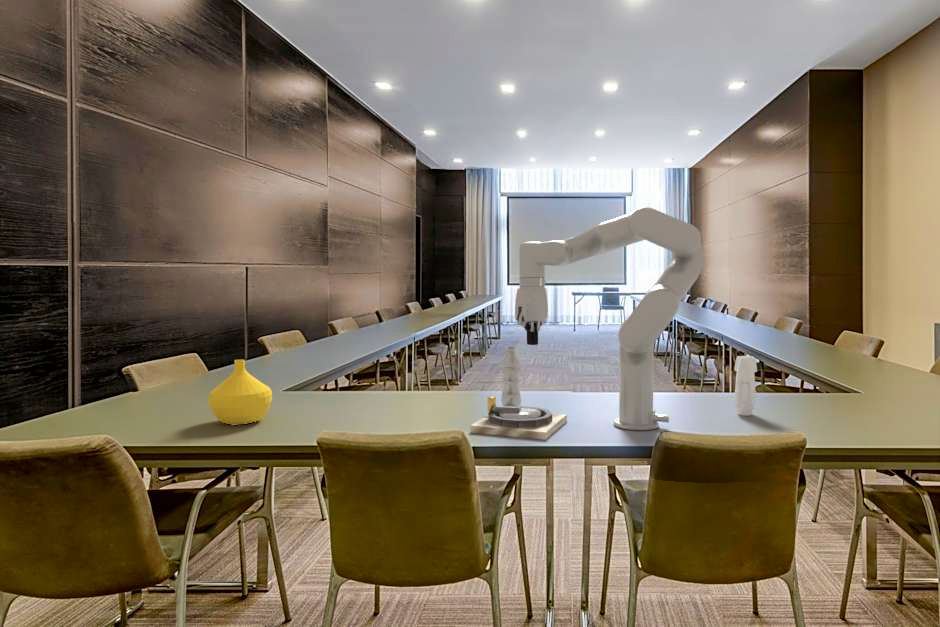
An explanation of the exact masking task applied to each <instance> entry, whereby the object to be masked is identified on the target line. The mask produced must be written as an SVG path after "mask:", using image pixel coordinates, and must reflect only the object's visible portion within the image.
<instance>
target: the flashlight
mask: <svg viewBox="0 0 940 627" xmlns="http://www.w3.org/2000/svg"><path fill="white" fill-rule="evenodd" d="M733 369H734V371H735V372H736V373H735V375H736V376H735V388H734V389H735V390H734V405H735V409H736V412H737V415H738V416H742V417H743V416H745V417H750V416H752V415H753V410H754V409H755V408H754V407H755V400H756V376H755V373H757V372H758V366H757V360H756V358H755V356H749V355H748V356H747V355H737V356H736V358H735V362H734V368H733Z"/></svg>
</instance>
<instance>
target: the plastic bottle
mask: <svg viewBox="0 0 940 627" xmlns="http://www.w3.org/2000/svg"><path fill="white" fill-rule="evenodd" d="M504 354H505V355H504V356H503V357H502V359H501V361H500V371H501V377H502V389H501V396H500V401H501V406H521V404H522V396H521V393H520V392H521V391H520V390H521V389H520V373H521V372H520V371H521V361H520V359H519V358H518V357H517V347H515V346H506V347H504Z"/></svg>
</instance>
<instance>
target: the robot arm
mask: <svg viewBox="0 0 940 627" xmlns="http://www.w3.org/2000/svg"><path fill="white" fill-rule="evenodd" d="M701 237H702V236H701V233H700V231H699V229H698V228H697V227H696V226H694V225H693V224H692V223H688V222H687V221H684V220H682V219H679V218H676V217H674V216H671V215H669V214H666V213H664V212H663V211H661V210H657V209H656V208H653V207H650V206H641V207H639V208H636V209H635V210H634V211H633V212H630V213H627V214H624V215H622V216H619V217H616V218H613V219H610V220H607V221H602V222H601V223H599V224H596V225H594V226H593V227H591V229H589V230H587V231H585V232H582V233H581V234H577V235H575V236H572V237H570V238H566V239H563V240H558V239H557V240H555V239H554V240H549V241H548V240H547V241H543V242H541V241H525V242H521V243H520V245H519V248H518V252H519V254H518V258H519V260H518V262H519V263H518V265H519V270H518V271H519V274H518V275H519V278H518V279H519V288H517V290H516V295H515V303H514V304H515V305H514V320H515V321H516V322H517V325H518V326H519V327H522V328H524V331H525V332H526V345H529V346H538V345H539V331H540V330H541V327H542V326H543V325H545V324H546V323H547V319H548V316H549V306H548V305H549V304H548V295H547V289H546V286H545V284H546V282H547V281H546V279H545V275H546V273H545V272H546V269H545V267H546V266H550V267H551V266H552V267H564V266H568V265H570V264H574V263H577V262H579V261H583V260H585V259H586V260H587V259H588V258H592V257H595V256H598V255H603V254H606V253H609V252H612V251H615V250H618V249H621V248H624V247H626V246H630V245H633V244H635V243H640V242H642V241H647V242H649V243H651V244H654V245H656V246H659V247H661V248H663V249H666V250H668V251H670V252H671V260H670V263H669V264H668V266H667V267H666V268H665V270H664V271H663V272H662V273H661V276H659V278H658V280H657V281H656V282H655V283H654V285H653V286H651V288H650V289H649V290H648V291H647V292H646V293H645V294H644V296H643V298H642V299H641V300H640V301H639V303H638V304H637V306H636V307H635V308H634V309H633V311H632V313H630V315H629V316H628V318H627V319H626V320H624V321H623V322H622V323H621V325H620V327H619V330H618V335H617V336H618V342H619V372H618V374H619V375H618V376H619V379H618V380H619V381H618V382H619V383H618V384H619V386H618V387H619V390H618V391H619V394H618V395H619V396H618V397H619V398H618V400H619V402H618V408H619V409H618V417H617V418H615V419H613V425H614V426H615V427H617V428H620V429H624V430H629V431H630V430H631V431H651V430H655V429H658V428H659V422H661V423H668V424H669V422H670V415H666V414H663V413H662V414H660V413H659V414H658V413H657V412H656V409H655V408H654V374H655V372H654V369H655V368H654V366H655V364H654V363H655V362H654V360H655V353H654V352H655V347H654V346H655V342H656V341H657V340H658V338H659V337H660V336H661V335H662V333H663V332H664V331H665V330H666V328H667V327H668V325H669V324H670V323H671V322H672V321H673V320H674V317H676V315H677V312H678V310H679V306H680V303H681V301H682V300H683V299H684V297H685V296H686V295H687V293H688V292H689V290H690V289H691V288H692V286H693V285H694V284H695V282H696V281H697V279H698V278H699V276H700V274H701V272H702V270H703V265H704V250H703V246H702V243H701V242H702V238H701Z"/></svg>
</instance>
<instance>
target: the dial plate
mask: <svg viewBox="0 0 940 627" xmlns="http://www.w3.org/2000/svg"><path fill="white" fill-rule="evenodd" d="M516 407H521V408H532V409H536V410H539V411H540V412H541V417H539V418H534V419H507V418H502V417H499V412H490V411H487V413H488V414H487V415H484V416H483V418H480V419H479V420H477V421H476V422H473V423H472V424H470V427H469V428H470V430H469V431H470V433H472V434H473V433H475V434H483V435H491V436H493V435H494V436H501V435H503V436H504V437H513V438H525V439H534V440H543V441H545V440H546V441H547V440H548V439H549V438H550V437H551V436H552V435H553V434H554V433H556V431H558V430H559V429H561V427H562V426H564V424H566V423H567V422H568V420H567V418H568V414H564V413H563V414H562V413H561V414H560V413H552V412H551V410H549V409H545V408H541V407H537V406H536V407H535V406H524V405H523V406H521V405H520V406H516ZM503 436H502V437H503Z"/></svg>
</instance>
